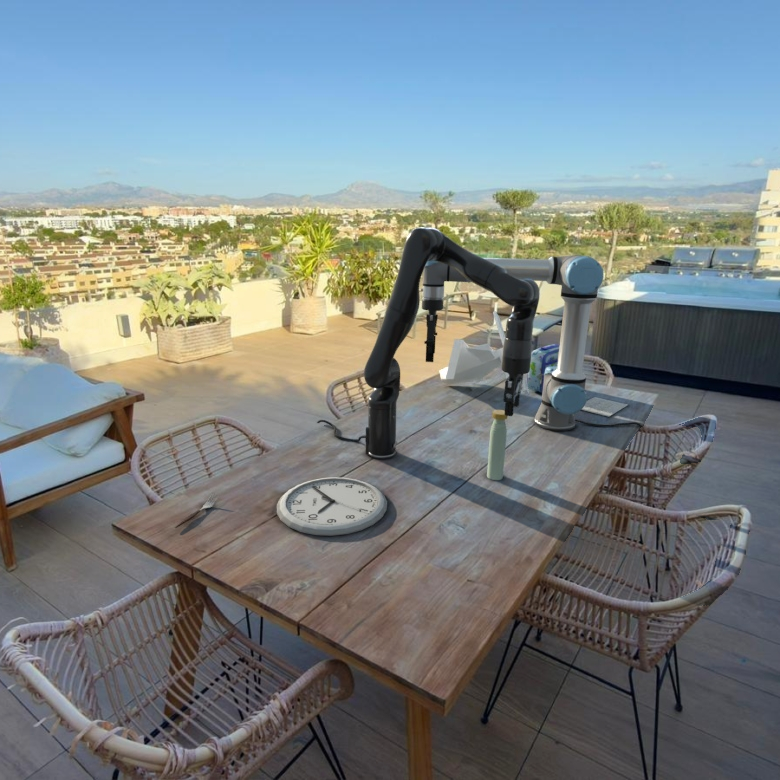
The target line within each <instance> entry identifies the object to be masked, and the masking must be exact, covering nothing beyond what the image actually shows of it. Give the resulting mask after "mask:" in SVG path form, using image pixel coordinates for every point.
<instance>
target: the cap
mask: <svg viewBox="0 0 780 780" xmlns="http://www.w3.org/2000/svg"><path fill="white" fill-rule="evenodd" d="M491 416H492V418H493V420H494V419H497V420H505V421H506V420H507V419H508V417H509V416H506V415H505V409H494V410H492V414H491Z"/></svg>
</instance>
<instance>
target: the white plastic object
mask: <svg viewBox="0 0 780 780" xmlns="http://www.w3.org/2000/svg"><path fill="white" fill-rule="evenodd" d="M492 315H493V319H494V321H495V324H496V325H495V326H496V328H497V332H498V335H499V338H500V342H501V345H502V347H500V348H498V349H496V350H495V349H493V348H492V347H491V346H490V344H489V343H488V342H487V343H483V344H479V345H473V346H469V345H468V343H466V342H465V340H464V339H463V338H460V339H458V338H454V340H453V344H452V349H451V353H450V357H449V362H448V366H446V367H444V368H442V369H440V370H439V371H438V372H439V376H440V381H442V383H443V384H444V385H445V386H449V385H458V384H467V383H468V384H469V383H473V384H477V383H480V382H482V381H484V378H485V377H486V376H487V375H489V374H490V373H492V372H494V371H495V370H496V369H497V368H499V367H500V366H502V357H503V346H504V341H505V331H504V328H503V325H502V321H501V318H500V315H499V314H498V312H497V311H496V310H495V311H492ZM503 373H504V376H505V380H506V379H507V378H508V376H509V374H508V373H507V372H504V371H503ZM522 387H523V388H522V391H523V393H524V395H525V396H526V397H528V396H531V395H530V390H529V389H528V387H527V380H526V378H525V374H523V384H522Z"/></svg>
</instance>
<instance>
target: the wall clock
mask: <svg viewBox="0 0 780 780" xmlns="http://www.w3.org/2000/svg"><path fill="white" fill-rule="evenodd" d="M387 509H388V500H387V498H386V496H385V494H384V493H383V492H382V491H381V490H380V489H379V488H377V487H376V486H374V485H372V484H371V483H369V482H365V481H362V480H359V479H355V478H349V477H338V476H337V477H335V476H333V477H332V476H331V477H322V478H317V479H312V480H307V481H305V482H302V483H299V484H297V485H295V486H293V487H292V488H290V489H288V490H287V491H286V492H285V493H284V494H283V495H281V496H280V498H279V499H278V502H277V503H276V515H277V517H278V518H279V520H280V521H281V522H282V523H283V524H285V525H286V526H287V527H288V528H290V529H293V530H295V531H297V532H299V533H303V534H308V535H312V536H327V537H328V536H329V537H331V536H332V537H333V536H342V535H350V534H352V533H356V532H361V531H363V530H366V529H368V528H369V527H372V526H373V525H375V524H376V523H378V522H379V521H380V520H381V519H382V518H383V517H384V516H385V514H386V512H387Z"/></svg>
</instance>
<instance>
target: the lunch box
mask: <svg viewBox="0 0 780 780" xmlns="http://www.w3.org/2000/svg"><path fill="white" fill-rule="evenodd" d="M559 346H560V344H556V343H555V344H554V343H553V344H548V345H545V346H541V347H539V348H536V349H534V350H532V352H531V362H530V371H529V372H528V373H527V375H526V384H527V387H528V390H529V391H532V392H533V391H534V392H539V393H540V394H542V392H543V382H544V373H545V369H546V368H547V367H553V366H557V364H558V355H559Z"/></svg>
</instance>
